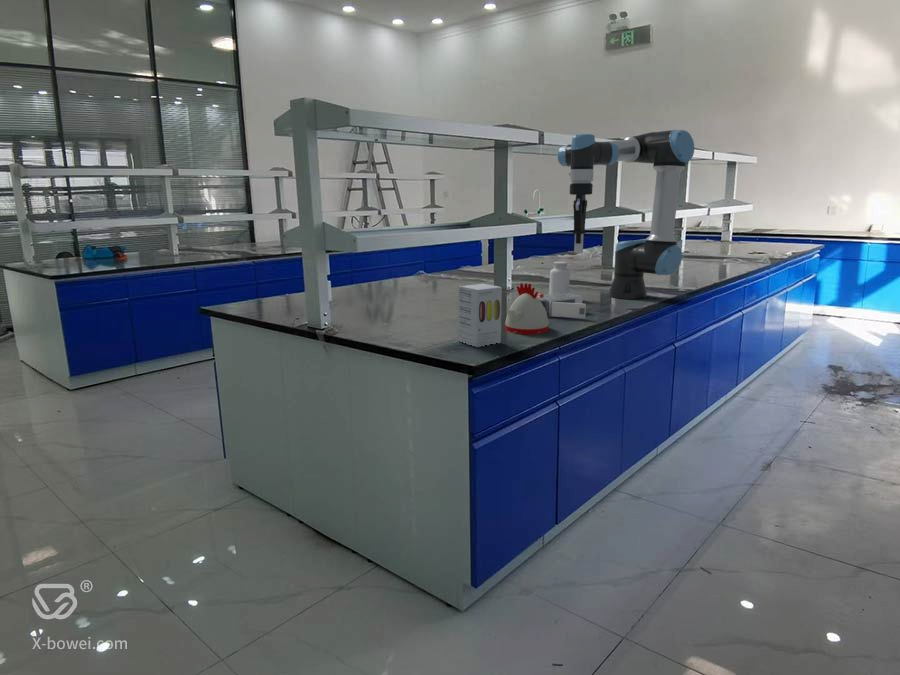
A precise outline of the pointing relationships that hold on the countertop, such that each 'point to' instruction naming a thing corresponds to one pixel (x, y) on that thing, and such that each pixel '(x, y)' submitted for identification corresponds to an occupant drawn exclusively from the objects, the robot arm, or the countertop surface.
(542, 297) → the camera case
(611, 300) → the countertop surface
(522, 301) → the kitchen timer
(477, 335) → the supplement box
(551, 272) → the pill bottle
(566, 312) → the thin white box
